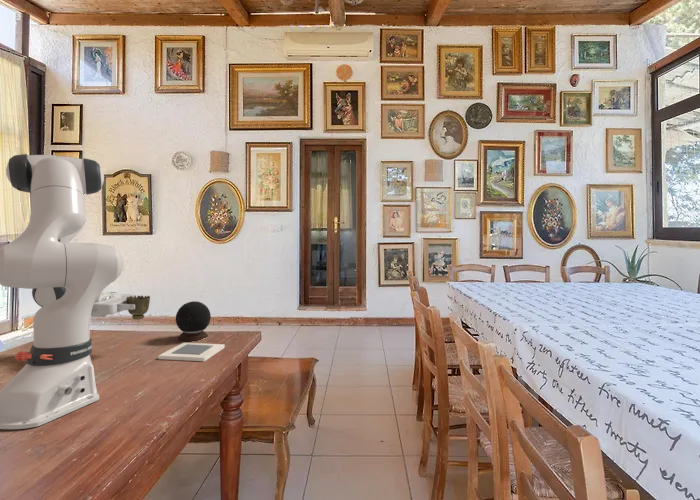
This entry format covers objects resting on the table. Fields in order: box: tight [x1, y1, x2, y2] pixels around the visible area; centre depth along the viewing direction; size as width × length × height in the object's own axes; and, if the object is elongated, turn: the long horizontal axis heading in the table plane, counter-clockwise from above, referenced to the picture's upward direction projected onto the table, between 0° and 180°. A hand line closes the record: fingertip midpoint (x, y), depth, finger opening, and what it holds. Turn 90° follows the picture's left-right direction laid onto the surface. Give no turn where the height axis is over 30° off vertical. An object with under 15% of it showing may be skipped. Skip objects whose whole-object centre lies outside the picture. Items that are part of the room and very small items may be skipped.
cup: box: [126, 294, 151, 321], centre depth 131 cm, size 8×7×8 cm
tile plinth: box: [157, 342, 226, 362], centre depth 131 cm, size 16×16×2 cm
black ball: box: [175, 300, 212, 343], centre depth 151 cm, size 13×13×15 cm
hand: (141, 304), depth 131 cm, fingers closed on cup, 7 cm apart
